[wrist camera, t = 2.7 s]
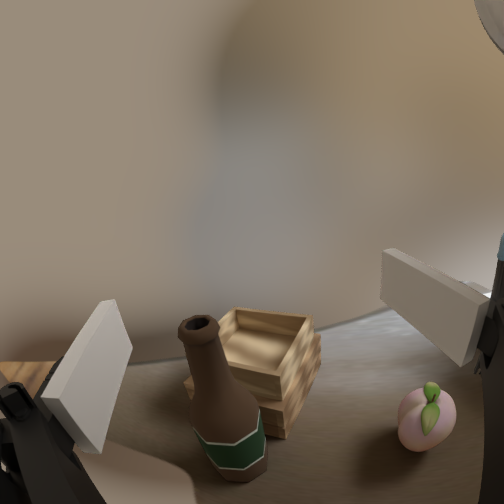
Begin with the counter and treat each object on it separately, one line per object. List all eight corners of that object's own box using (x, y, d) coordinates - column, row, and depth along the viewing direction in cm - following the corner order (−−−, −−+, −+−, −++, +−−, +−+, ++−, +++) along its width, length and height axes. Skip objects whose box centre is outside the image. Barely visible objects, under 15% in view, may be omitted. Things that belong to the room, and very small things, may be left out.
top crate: (238, 328, 52) (233, 306, 51) (313, 339, 45) (313, 315, 44) (193, 377, 40) (185, 353, 38) (282, 401, 33) (279, 376, 32)
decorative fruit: (444, 461, 22) (473, 419, 19) (389, 467, 25) (407, 426, 22) (439, 413, 30) (459, 366, 27) (391, 416, 33) (404, 370, 30)
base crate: (244, 351, 56) (239, 323, 54) (320, 363, 49) (320, 333, 47) (195, 411, 41) (183, 382, 39) (285, 439, 34) (282, 411, 31)
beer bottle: (280, 451, 32) (258, 306, 24) (253, 492, 25) (205, 360, 18) (232, 435, 36) (190, 296, 28) (203, 471, 29) (135, 335, 22)
